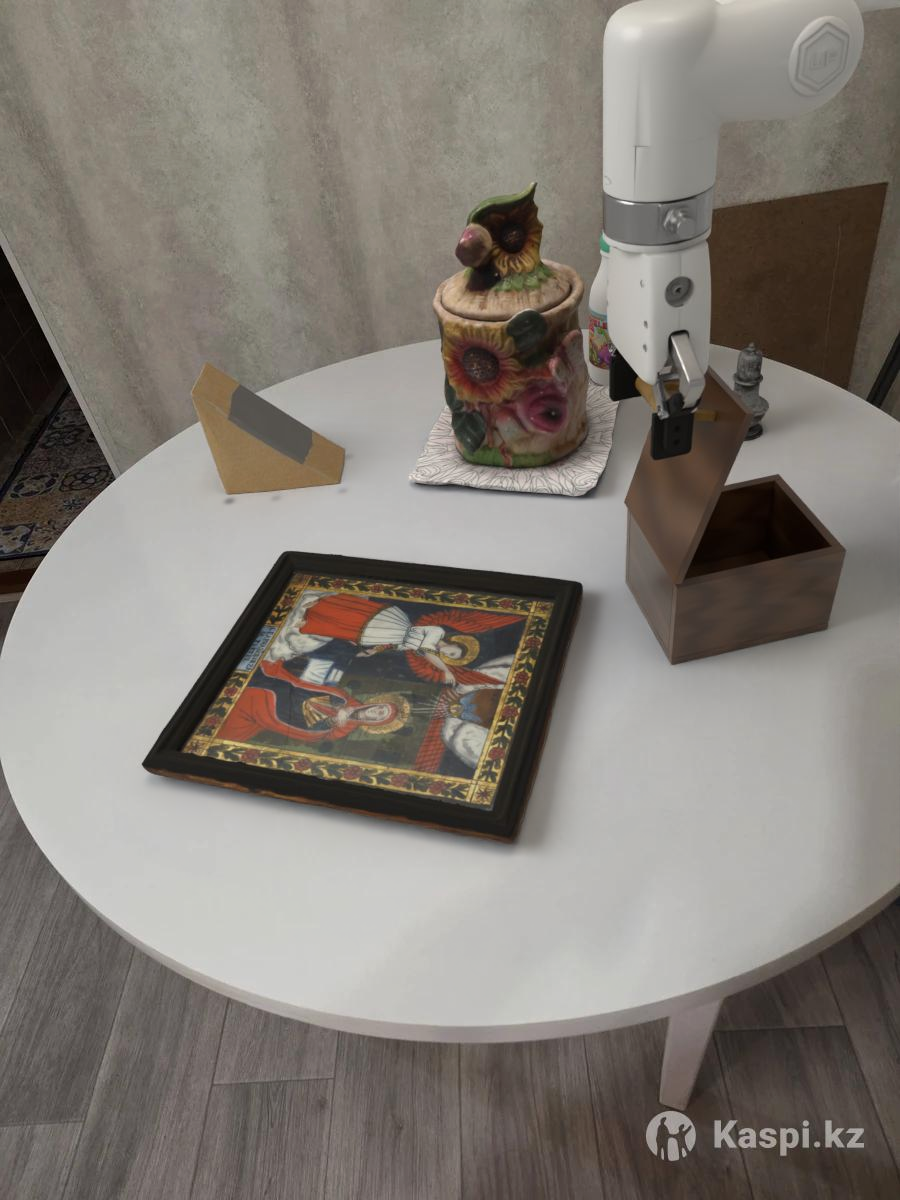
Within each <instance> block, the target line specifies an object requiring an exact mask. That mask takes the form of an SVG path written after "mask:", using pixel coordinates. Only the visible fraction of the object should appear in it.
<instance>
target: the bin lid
mask: <svg viewBox="0 0 900 1200" xmlns="http://www.w3.org/2000/svg"><path fill="white" fill-rule="evenodd" d="M671 372H676V369H675V366H674V365H673V366H671V368H670V372H669V373H671ZM704 378H705V388H704V390H703V392H702V394H701V401H700V404H699V406H698V408H697V412H695V413H694V423H693V436H692V448H691V451H690V452H689V453H688V454H684V455H680V456H675V457H670V458H666V459H661V460H653V458H652V457H651V455H650V445H651V426H650V427H649V430H648V433H647V436H646V439H645V441H644V444H643V448H642V450H641V453H640V456H639V458H638V460H637V464H636V467H635V470H634V472H633V475H632V478H631V481H630V484H629V487H628V490H627V492H626V496H625V498H624V501H623V503H624V505H625V507H626V509H627V508H628V510H629V512H630V513H631V515H632V516H633V518H634V520H635V521H636V523H637V525H638V526H639V528H640V530H641V531H642V533H643V534H644V536H645V538H646V539H647V541H648V543H649V544H650V546H651V547H652V549H653V551H654V552H655V554H656V556H657V557H658V559H659V561H660V562H661V564H662V565H663V567H664V569H665V570H666V572H667V574H668V575H669V577H670V579H671V580H672V582H673V583H674V584H682V582H683V579H684V577H685V575H686V573H687V570H688V568H689V566H690V563H691V561H692V559H693V556H694V554H695V552H696V550H697V547H698V545H699V543H700V540H701V538H702V536H703V533H704V531H705V529H706V526H707V524H708V522H709V520H710V517H711V515H712V513H713V510H714V508H715V506H716V503H717V501H718V499H719V496H720V494H721V492H722V490H723V487H724V486H725V485H726V483H727V481H728V478H729V476H730V474H731V471H732V468H733V466H734V464H735V462H736V459H737V457H738V455H739V453H740V450H741V448H742V445H743V443H744V442H745V441H744V439H745V437H746V434H747V432H748V430H749V427H750V425H751V423H752V420H753V418H754V416H755V414H754V412H753V411H752V410H751V409H750V408H749V407H748V406H747V405H746V404H745V403H744V402H743V401H742V400H741V399H740V398H739V396H738V395H737V394H736V393H735V392H734V389H732V388H731V387H730V386H729V384H727V383H726V381H724V378H723V379H722V377H721V376H720V375H719V374H718V373H717V372H716V371H715V370H714V368H712V366H711V365H710V364H708V368H707V371H706V373H705V374H704ZM679 385H680V381H678V382H674V383H669V384H664V388H665V393H666V397H667V400H668V399H669V398H670V397H671V396H672V395H673V394H675V393H678V392H679V389H678V388H679ZM635 386H636V388H637V390H638V391H639V392H640V393H641V395H642V396H641V397H643V399H644V400H645V401H646V403H647V404H648V405H649V407H650V408H651V409H652V411H653V413H657V409H656V404H655V400H654V395H653V390H652V385H650V384H648V383H646V382H645V381H643V380H642V379H641V378H640V377H639V376H638V377H637V379H636V382H635Z"/></svg>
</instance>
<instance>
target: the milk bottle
mask: <svg viewBox="0 0 900 1200" xmlns="http://www.w3.org/2000/svg"><path fill="white" fill-rule="evenodd" d="M599 247H600V248H599V249H600V250H599V253H600V255H601V261H600V265H599V268H598V271H597V273H596V275H595V278H594V280H593V282H592V285H591V288H590V291H589V292H590V293H589V297H588V373H589V378H590V379H591V381H593V383H595V384H596V385H598V386H606V385H609V358H610V357H615V356H616V355H613V356H611V355H610V352H609V346H608V345H609V341H610V339H611V338H610V336H609V332H608V324H607V281H608V262H609V249H610V246H609V245H608V244H607V243H606V242H605V241H604V240H603V233H602V234H601V235H600V238H599Z"/></svg>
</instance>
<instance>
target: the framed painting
mask: <svg viewBox="0 0 900 1200" xmlns="http://www.w3.org/2000/svg"><path fill="white" fill-rule="evenodd" d="M583 594H584V585H583V583H582V582H581V581H575V580H568V579H564V578H563V579H562V578H555V577H548V576H546V577H545V576H540V575H539V576H538V575H529V574H523V573H522V574H521V573H512V572H505V571H495V570H487V569H475V568H465V567H457V566H456V567H455V566H448V565H447V566H446V565H435V564H427V563H416V562H406V561H398V560H397V561H395V560H387V559H377V558H370V557H369V558H367V557H361V556H360V557H359V556H358V557H357V556H349V555H343V554H336V553H335V554H333V553H319V552H310V551H309V552H308V551H299V550H285V551H283V552H282V553H281V554H280V555H279V557H278V558H277V559H276V561H275V562H274V564H273V565H272V566H271V569H269V571H268V573H267V575H265V578H264V579H263V580H262V582H261V584H260V585H259V586H258V588H257V590H256V591H255V592H254V594H253V596H252V597H251V599H250V600H249V602H248V603H247V604H246V606H245V608H244V609H243V611H242V612H241V614H240V615H239V616H238V617H237V619H236V621H235V623H234V624H233V626H232V627H231V629H230V630H229V632H228V633H227V635H226V636H225V638H224V639H223V641H222V642H221V643H220V645H219V647H218V648H217V649H216V651H215V652H214V654H213V655H212V657H211V659H210V660H209V661H208V663H207V665H206V666H205V668H204V669H203V671H202V672H201V673H200V675H199V677H198V678H197V680H196V681H195V682H194V684H193V685H192V687H191V689H190V690H189V691H188V693H187V695H186V696H185V697H184V698H183V701H181V703H180V704H179V706H178V707H177V709H176V710H175V711H174V714H173V715H172V717H171V718H170V719H169V721H168V722H167V723H166V725H165V726H164V727H163V729H162V730H161V732H160V733H159V735H158V736H157V738H156V740H155V742H154V744H153V745H152V746H151V748H150V749H149V751H148V753H147V755H146V756H145V758H144V759H143V761H142V762H141V766H142V767H143V769H144V770H145V771H146V772H148V773H149V774H152V775H156V776H160V777H161V776H162V777H167V778H172V779H178V780H184V781H188V782H194V783H198V784H203V785H208V786H212V787H213V786H214V787H219V788H224V789H228V790H229V789H230V790H233V791H234V790H235V791H240V792H242V793H243V792H244V793H249V794H255V795H261V796H265V797H270V798H275V799H277V800H278V799H279V800H282V801H283V800H284V801H289V802H293V803H299V804H305V805H313V806H321V807H326V808H332V809H336V810H341V811H346V812H349V813H353V814H357V815H361V816H366V817H371V818H375V819H376V818H377V819H383V820H389V821H395V822H400V823H406V824H412V825H416V826H420V827H425V828H430V829H432V830H433V829H434V830H437V831H441V832H445V833H450V834H455V835H461V836H467V837H472V838H479V839H483V840H488V841H493V842H498V843H503V844H513V843H515V841H516V840H517V838H518V835H519V831H520V828H521V824H522V822H523V819H524V815H525V812H526V809H527V805H528V801H529V798H530V796H531V793H532V789H533V786H534V782H535V779H536V776H537V772H538V770H539V765H540V762H541V757H542V753H543V750H544V747H545V743H546V739H547V735H548V730H549V726H550V721H551V717H552V713H553V710H554V705H555V701H556V697H557V694H558V690H559V686H560V683H561V679H562V675H563V672H564V671H563V670H564V668H565V663H566V659H567V653H568V648H569V645H570V642H571V639H572V635H573V633H574V631H575V628H576V624H577V621H578V617H579V613H580V609H581V604H582V599H583Z"/></svg>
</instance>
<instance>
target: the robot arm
mask: <svg viewBox="0 0 900 1200" xmlns="http://www.w3.org/2000/svg"><path fill="white" fill-rule="evenodd" d="M899 8H900V0H637V1H634V2H630V3H627V4H626V5H624V6H622V7H620V8H619V9H618V8H617V10H616V11H615V12H614V13H612V15H611V16H610V17H609V20H608V21H607V23H606V26H605V29H604V34H603V44H602V234H603V240H604V241H605V242H606V243H607V244H608V245H609V246H610V249H609V262H608V281H607V324H608V332H609V336H610V338H611V339H610V341H609V345H608V346H609V352H610V355H611V356H613V355H616V356H615V357H610V358H609V397H610V399H611V400H612V401H614V402H616V401H625V400H631V399H634V398H640V397H643V396H642V395H641V393H640V392H639V391H638V390H637V388H636V386H635V382H636V379H637V377H638V376H639V377H640V378H641V379H642V380H643V381H645V382H646V383H648V384H650V385H652V390H653V395H654V400H655V404H656V409H657V413H655V412H653V413H651V422H650V423H651V424H650V427H651V445H650V455H651V457H652V458H653V460H661V459H666V458H670V457H675V456H680V455H684V454H688V453H689V452H690V451H691V448H692V436H693V423H694V413H695V412H697V408H698V406H699V404H700V401H701V394H702V392H703V390H704V388H705V378H704V374H705V373H706V371H707V368H708V365H709V359H710V343H711V323H712V322H711V319H712V276H711V260H710V248H709V243H708V241H707V239H708V238H709V237H710V235H711V233H712V223H713V213H714V212H713V211H714V199H715V189H716V187H715V186H716V177H717V164H718V153H719V142H720V141H719V140H720V131H721V130H720V129H721V127H722V126H723V125H725V124H730V123H744V122H768V121H769V122H771V121H773V122H774V121H782V120H791V119H795V118H798V117H801V116H805V115H806V114H810V113H811V112H813V111H815V110H818V109H819V108H821V107H822V106H825V104H827V103H829V101H831V100H832V99H833V98H835V97H836V96H837V95H838V94H839V93H840V91H841V90H842V89H843V88H844V87H845V86H846V84H848V82H849V81H850V79H851V77H852V76H853V74H854V73H855V71H856V68H857V66H858V65H859V61H860V59H861V56H862V51H863V47H864V41H865V28H864V27H865V26H864V21H863V17H862V14H863V13H867V12H874V11H880V10H890V9H899ZM673 365H674V366H675V369H676V372H671V373H670V372H667V373H663V374H660V373H661V372H662V371H663V369H664V368H667V367H672V366H673ZM678 381H680V385H679V388H678V389H679V392H678V393H675V394H673V395H672V396H671V397H670V398H669V399H668V400H667V397H666V393H665V388H664V384H669V383H674V382H678Z"/></svg>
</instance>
